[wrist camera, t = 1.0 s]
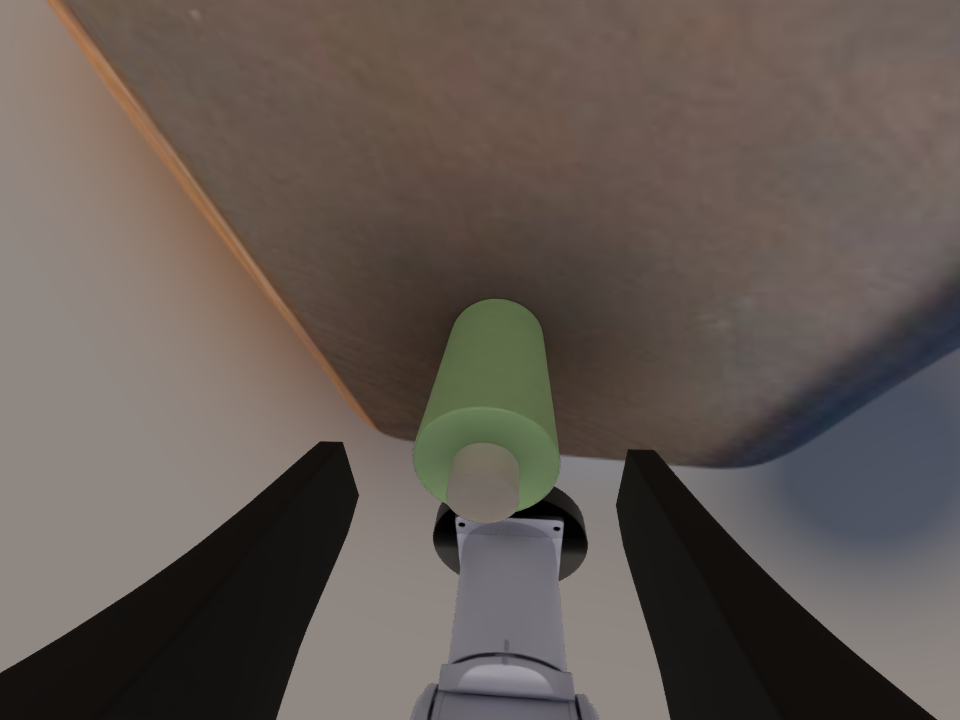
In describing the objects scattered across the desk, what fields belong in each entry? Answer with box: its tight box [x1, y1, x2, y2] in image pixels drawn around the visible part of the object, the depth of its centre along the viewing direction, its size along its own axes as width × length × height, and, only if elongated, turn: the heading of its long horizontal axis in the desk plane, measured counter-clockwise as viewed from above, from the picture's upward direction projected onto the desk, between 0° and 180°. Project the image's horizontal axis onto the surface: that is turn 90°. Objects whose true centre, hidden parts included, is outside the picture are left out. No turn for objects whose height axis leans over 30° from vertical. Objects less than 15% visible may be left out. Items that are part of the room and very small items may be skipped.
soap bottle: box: [413, 299, 560, 523], centre depth 14 cm, size 4×4×9 cm
